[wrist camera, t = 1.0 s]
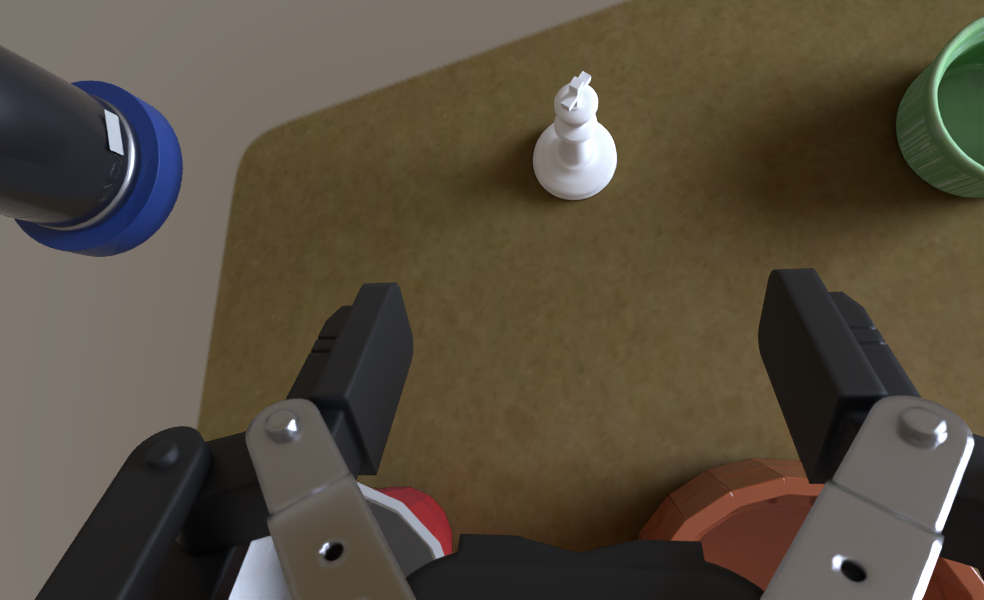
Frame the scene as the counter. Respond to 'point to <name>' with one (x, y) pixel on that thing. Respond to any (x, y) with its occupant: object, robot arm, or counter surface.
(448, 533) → the plastic cup
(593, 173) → the chess piece
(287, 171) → the counter surface
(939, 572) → the bowl
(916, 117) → the ramekin
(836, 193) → the counter surface
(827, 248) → the counter surface
